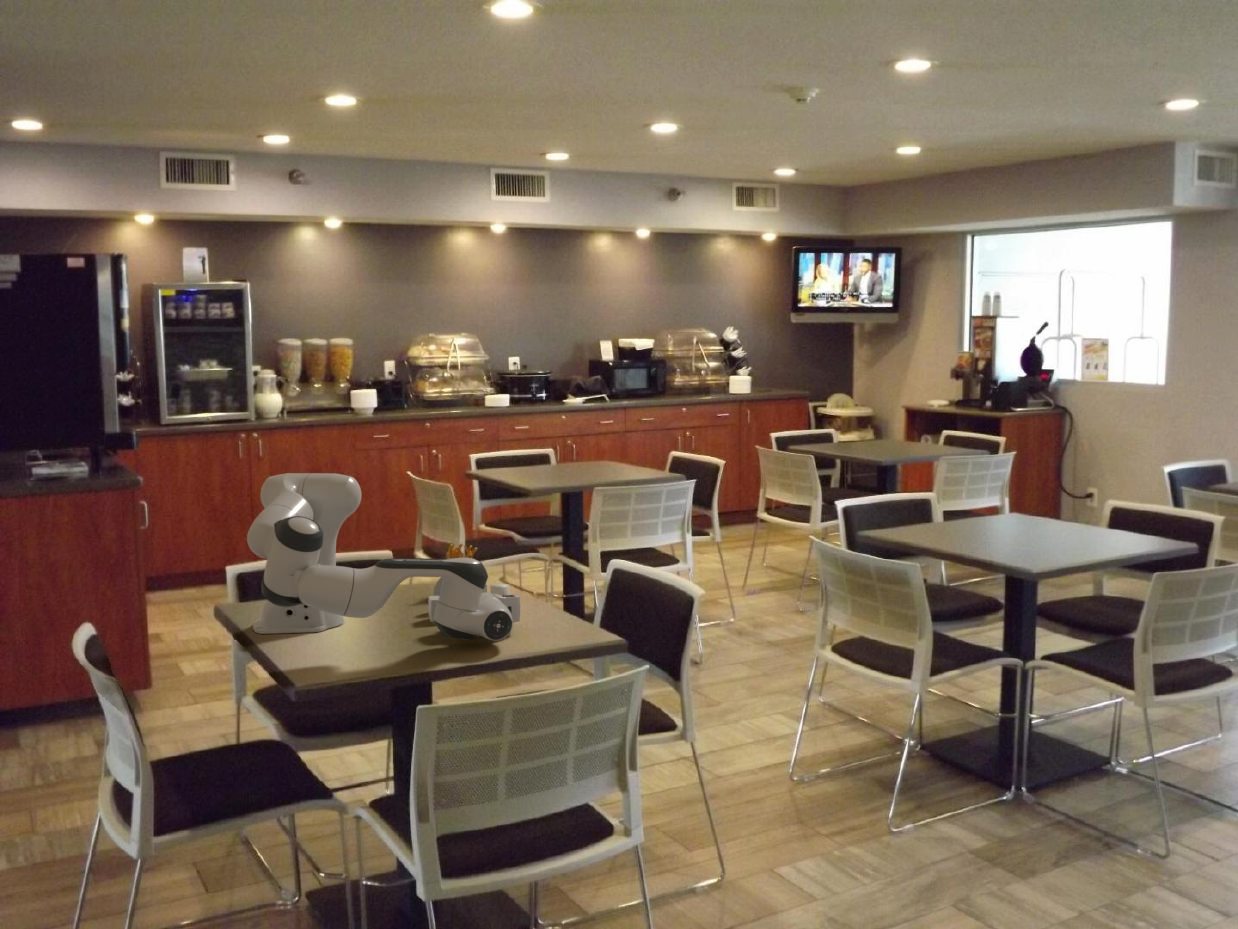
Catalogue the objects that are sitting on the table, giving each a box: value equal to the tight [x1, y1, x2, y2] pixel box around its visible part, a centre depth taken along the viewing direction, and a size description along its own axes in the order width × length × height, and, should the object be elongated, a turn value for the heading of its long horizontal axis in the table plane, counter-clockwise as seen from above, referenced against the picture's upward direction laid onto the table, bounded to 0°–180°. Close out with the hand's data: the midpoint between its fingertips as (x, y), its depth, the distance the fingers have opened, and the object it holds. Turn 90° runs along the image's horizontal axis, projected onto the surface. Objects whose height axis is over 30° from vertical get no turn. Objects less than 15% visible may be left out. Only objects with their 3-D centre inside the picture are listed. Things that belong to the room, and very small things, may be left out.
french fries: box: [445, 542, 478, 559], centre depth 334 cm, size 9×8×15 cm
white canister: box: [489, 583, 511, 595], centre depth 309 cm, size 5×5×8 cm
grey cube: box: [427, 595, 439, 623], centre depth 304 cm, size 5×5×6 cm
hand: (475, 599), depth 299 cm, fingers closed on sage block, 5 cm apart
